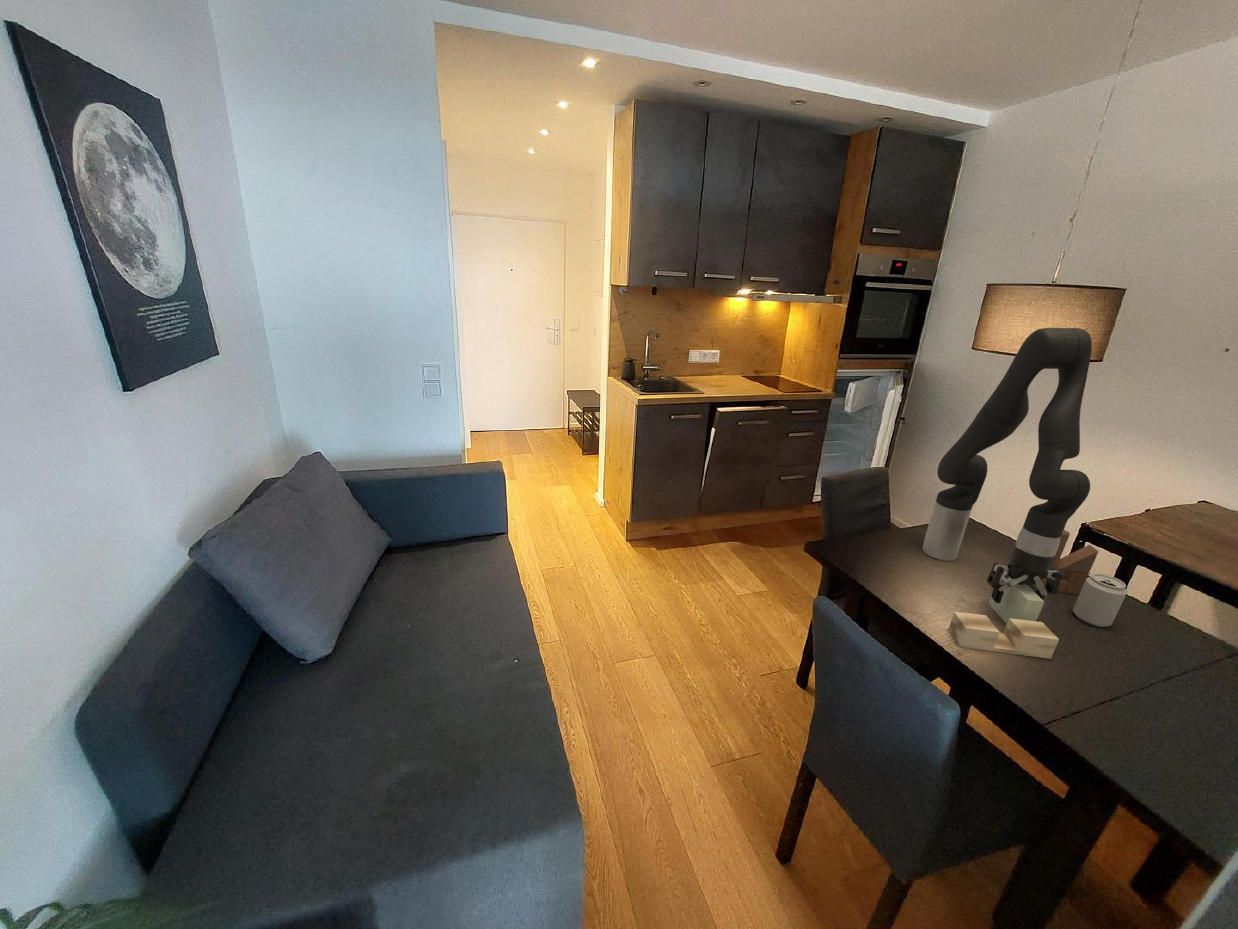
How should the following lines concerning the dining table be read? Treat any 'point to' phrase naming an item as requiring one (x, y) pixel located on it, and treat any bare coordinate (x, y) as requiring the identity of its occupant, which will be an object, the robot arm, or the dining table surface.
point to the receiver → (1003, 635)
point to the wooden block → (1072, 566)
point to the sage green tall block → (1018, 603)
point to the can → (1100, 600)
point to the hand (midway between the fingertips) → (1014, 603)
